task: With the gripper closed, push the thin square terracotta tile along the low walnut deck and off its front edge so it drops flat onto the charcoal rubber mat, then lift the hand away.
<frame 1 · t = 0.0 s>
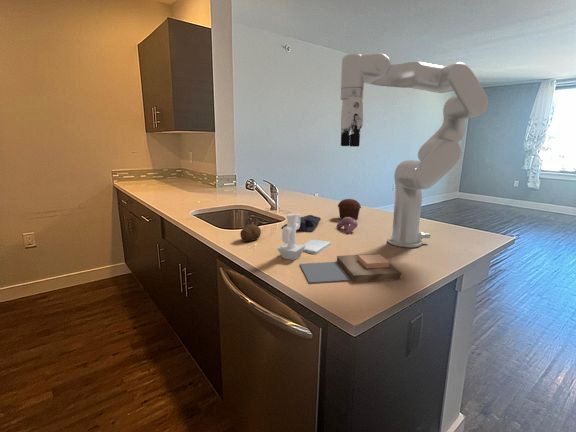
hand: (349, 146, 113), 37 cm above the worktop, tool pointing down, fingers open, 9 cm apart
hard drive: (314, 249, 120), on the worktop
figurine: (291, 257, 109), on the worktop
potato: (250, 240, 129), on the worktop
dark slate chunk: (303, 226, 151), on the worktop
tile: (373, 263, 98), point 2 cm above the worktop, touching deck
deck: (366, 269, 98), on the worktop
mat: (323, 272, 96), on the worktop
purple crystal rock: (346, 230, 143), on the worktop
muffin: (348, 219, 164), on the worktop
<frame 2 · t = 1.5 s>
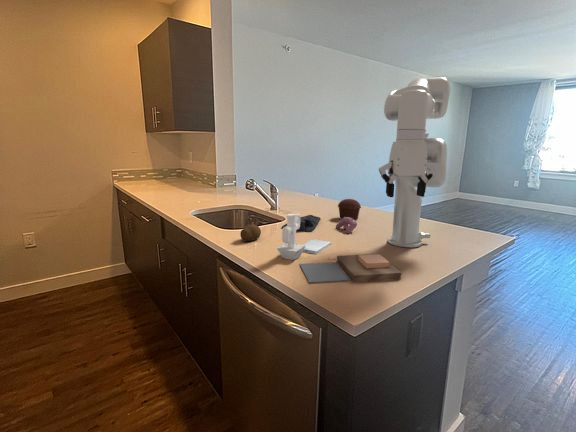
hand: (405, 196, 95), 23 cm above the worktop, tool pointing down, fingers open, 9 cm apart
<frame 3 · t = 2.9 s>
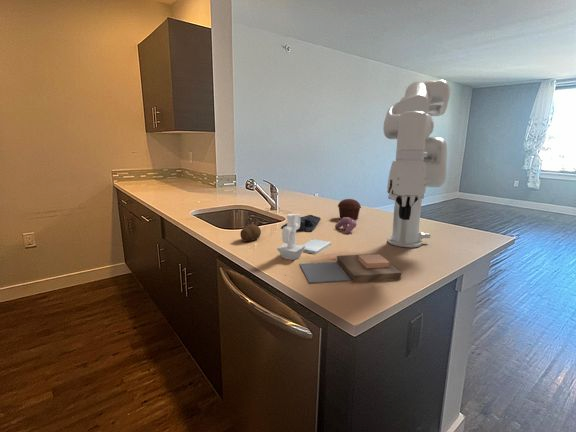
hand: (404, 218, 96), 16 cm above the worktop, tool pointing down, fingers closed
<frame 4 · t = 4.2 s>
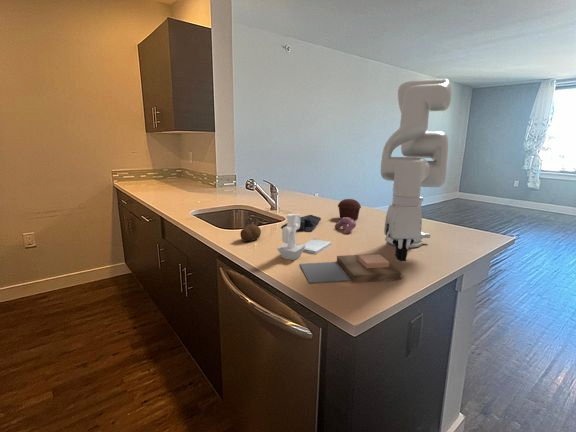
hand: (400, 259, 99), 3 cm above the worktop, tool pointing down, fingers closed
nothing on the worktop moved.
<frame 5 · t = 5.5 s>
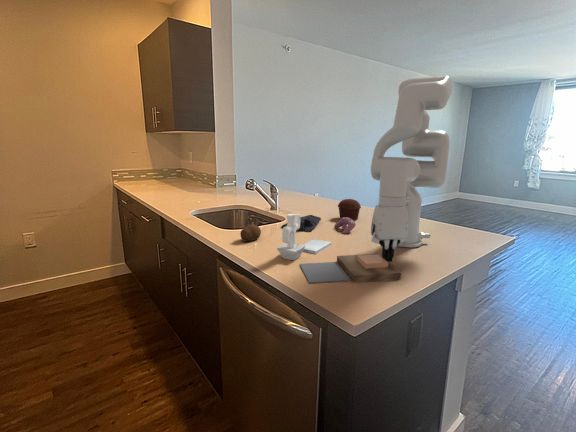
hand: (387, 260, 99), 3 cm above the worktop, tool pointing down, fingers closed
tile: (372, 263, 98), point 2 cm above the worktop, touching deck, gripper
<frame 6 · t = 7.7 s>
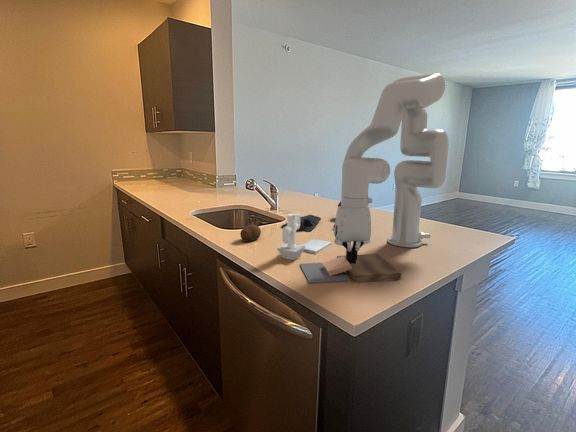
hand: (351, 262, 97), 3 cm above the worktop, tool pointing down, fingers closed
tile: (337, 268, 96), point 1 cm above the worktop, tilted 15°, touching mat
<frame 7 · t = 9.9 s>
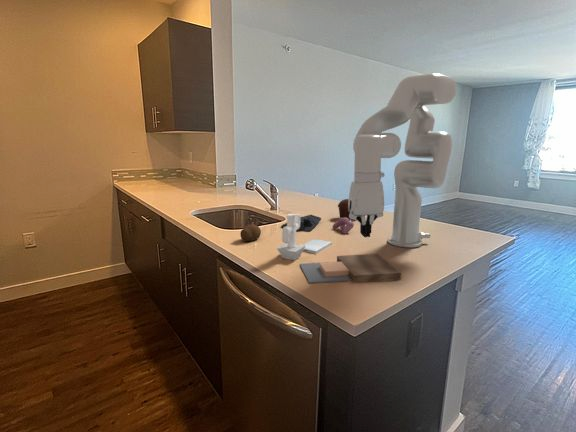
hand: (365, 235, 100), 10 cm above the worktop, tool pointing down, fingers closed
tile: (333, 271, 96), resting on mat
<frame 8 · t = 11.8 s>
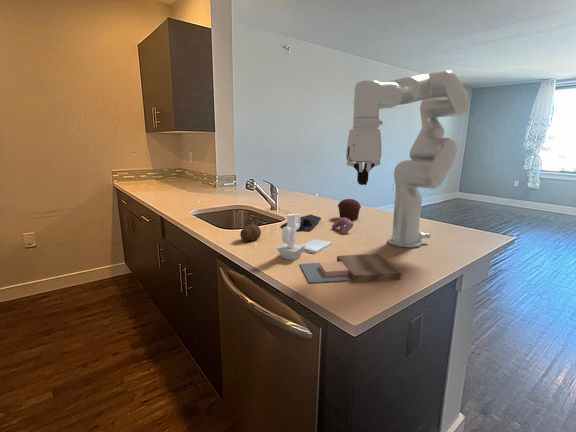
hand: (362, 184, 102), 25 cm above the worktop, tool pointing down, fingers closed
at the end: tile inside the target area (3.4 cm from its centre), resting on mat; tile tilted 0° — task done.
